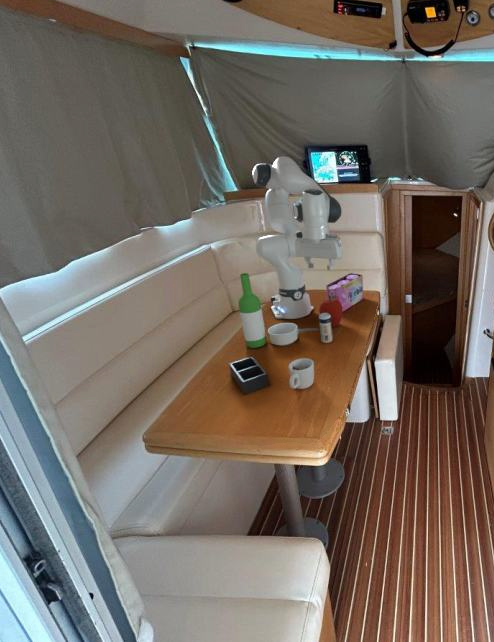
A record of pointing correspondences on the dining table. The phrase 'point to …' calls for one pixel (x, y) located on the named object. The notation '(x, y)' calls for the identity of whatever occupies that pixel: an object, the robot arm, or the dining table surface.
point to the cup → (301, 373)
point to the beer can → (325, 327)
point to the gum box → (346, 290)
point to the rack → (249, 374)
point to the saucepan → (285, 333)
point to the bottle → (251, 315)
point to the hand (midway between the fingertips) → (320, 268)
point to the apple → (332, 310)
